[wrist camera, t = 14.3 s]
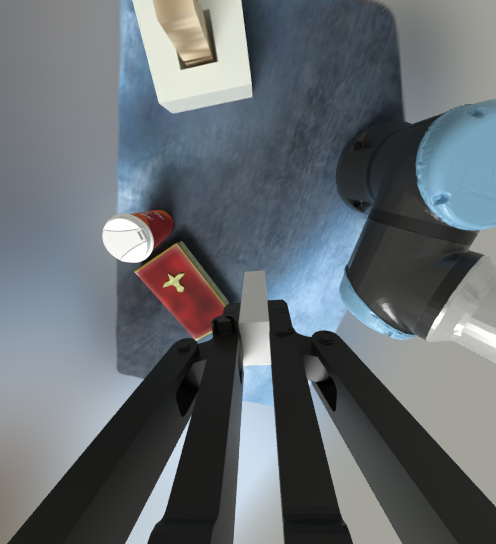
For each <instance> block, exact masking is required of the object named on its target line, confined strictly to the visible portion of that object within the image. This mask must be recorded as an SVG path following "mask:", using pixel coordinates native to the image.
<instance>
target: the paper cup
mask: <svg viewBox="0 0 496 544" xmlns="http://www.w3.org/2000/svg"><path fill="white" fill-rule="evenodd" d="M173 228H174V223H173V220H172V218H171V216H170V215H169V214H168V213H167V212H165V211H162V210H152V211H146V212H140V213H135V214H118V215H115V216H113V217H111V218H110V219H109V220H108V221H107V223H106V225H105V227H104V230H103V242H104V245H105V247H106V248H107V250H108V251H109V252H110V253H111V254H112V255H113V256H114V257H116V258H117V259H119V260H121V261H125V262H140V261H143V260H145V259H146V258H147V257H148V256H149V255H150V254H151V252H152V250H153V249H154V248H156V247H157V246H158V245H159V244H160V243H161V242H162V241H163V240H164V239H166V238H167V237H168V236H169V235H170V234H171V232H172V231H173Z"/></svg>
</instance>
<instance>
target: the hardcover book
mask: <svg viewBox="0 0 496 544" xmlns="http://www.w3.org/2000/svg"><path fill="white" fill-rule="evenodd" d="M134 272H135V273H136V274H137V275H138V276H139V277H140V278H141V280H142V281H143V282H144V283H145V284H146V285H147V286H148V287H149V288H150V290H151V291H152V292H153V293H154V294H155V295H156V296H157V297H158V299H159V300H160V301H161V302H162V303H163V304H164V305H165V306H166V308H167V309H168V310H169V311H170V312H171V313H172V314H173V315H174V316H175V318H176V319H177V320H178V321H179V322H180V323H181V324H182V325H183V327H184V328H185V329H186V330H187V331H188V332H189V333H190V334H191V336H192V337H193V338H194V339H195V340H196V341H197V340H199V339H201V338H202V337H204V336H206V335H208V334H210V333H212V327H211V321H212V320H213V319H214V318H215V317H217V316H220V315H222V314H223V310H224V307H225V306H226V305H227V304H229V301H228V300H227V299H226V297H225V296H224V295H223V293H222V292H221V291H220V290H219V288H218V287H217V286H216V284H215V283H214V282H213V281H212V279H211V278H210V277H209V275H208V274H207V273H206V271H205V270H204V269H203V268H202V266H201V265H200V264H199V262H198V261H197V260H196V258H195V257H194V256H193V255H192V253H191V252H190V251H189V249H188V248H187V247H186V245H185V244H184V243H183V242H182V241H181V242H179V243H178V242H177V243H175V244H174V245H172V246H171V247H169V248H168V249H166V250H165V251H164V252H162V253H161V254H159V255H158V256H156V257H155V258H153V259H152V260H150V261H149V262H147V263H146V264H145V265H142V266H141V267H139V268H138V269H137V270H136V271H134Z"/></svg>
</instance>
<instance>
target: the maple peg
mask: <svg viewBox="0 0 496 544" xmlns="http://www.w3.org/2000/svg"><path fill="white" fill-rule="evenodd" d="M153 4H154V8H155V12H156V17H157V20H158V22H159V23H160V25H161V26H162V28H163V30H164V31H165V33H166V34H167V36H168V37H169V39H170V41H171V42H172V44H173V45H174V47H175V49H176V50H177V52H178V53H179V55H180V56H181V58H182V60H183V62H184V63H185V64H186V66H187V68H192V67H197V66H201V65H206V64H210V63H214V62H216V61H215V55H214V49H213V43H212V37H211V34H210V31H209V28H208V25H207V22H206V18H205V16H204V12H203V9H202V6H201V3H200V0H153Z"/></svg>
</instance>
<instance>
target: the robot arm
mask: <svg viewBox="0 0 496 544" xmlns="http://www.w3.org/2000/svg"><path fill="white" fill-rule="evenodd" d="M336 184H337V189H338V192H339V194H340V196H341V198H342V200H343V201H344V202H345V203H346V204H347V205H348V206H349V207H350V208H352V209H353V210H355V211H358V212H361V213H364V214H368V215H369V216H368V218H367V220H366V223H365V225H364V227H363V230H362V232H361V234H360V237H359V239H358V241H357V244H356V246H355V248H354V251H353V253H352V255H351V258H350V260H349V262H348V264H347V265H346V266H345V269H344V276H343V279H342V281H341V284H340V289H339V292H340V295H341V299H342V301H343V303H344V305H345V306H346V307H347V309H348V310H349V311H350V312H351V313H352V314H353V315H354V316H356V318H358V319H359V320H360V321H361V322H363V323H364V324H366V325H367V326H368V327H370V328H372V329H373V330H375V331H377V332H379V333H381V334H384V333H386V334H387V335H388V336H390V337H391V338H395V339H400V340H407V339H411V338H412V337H415V336H417V335H418V336H419V337H421V338H423V339H425V340H426V341H428V342H437V341H447V340H448V341H455V342H457V343H459V344H460V345H462V346H464V347H466V348H468V349H470V350H472V351H474V352H475V353H477V354H479V355H481V356H483V357H485V358H487V359H489V360H490V361H492V362H494V363H496V268H495V266H494V265H493V263H492V261H491V259H490V257H488V256H486V255H482V254H479V253H476V252H473V251H470V250H469V247H470V246H471V244H472V242H473V241H474V239H475V238H476V236H477V234H478V233H479V231H480V230H483V229H487V228H492V227H496V99H493V100H488V101H483V102H479V103H475V104H465V105H464V106H458V107H455V108H453V109H451V110H449V111H447V112H445V113H443V114H440V115H437V116H434V117H431V118H428V119H426V120H423V121H420V122H417V123H414V124H410V123H407V122H403V121H386V122H382V123H379V124H376V125H374V126H371V127H369V128H367V129H365V130H364V131H362V132H361V133H359V134H358V135H357V136H356V137H355V138H353V139H352V141H351V142H350V143H349V144H348V145H347V147H346V148H345V150H344V151H343V153H342V155H341V157H340V160H339V163H338V166H337V171H336ZM211 327H212V332H213V338H212V339H211V340H209V341H206V342H203V343H200V344H198V343H197V341H196V340H195V339H192V338H185V339H182V340H179V341H177V342H176V343H175V344H173V345H172V346H171V348H170V349H169V350H168V351H167V353H166V354H165V355H164V356H163V357H162V359H161V360H160V361H159V362H158V363H157V365H156V366H155V367H154V368H153V369H152V371H151V372H150V373H149V374H148V375H147V377H146V378H145V379H144V380H143V381H142V383H141V384H140V385H139V386H138V387H137V389H136V390H135V391H134V392H133V393H132V395H131V396H130V397H129V398H128V399H127V401H126V402H125V403H124V404H123V405H122V407H121V408H120V409H119V410H118V411H117V413H116V414H115V415H114V416H113V417H112V419H111V420H110V421H109V422H108V423H107V425H106V426H105V427H104V428H103V429H102V431H101V432H100V433H99V434H98V435H97V437H96V438H95V439H94V440H93V442H92V443H91V444H90V445H89V446H88V447H87V449H86V450H85V451H84V452H83V453H82V455H81V456H80V457H79V458H78V459H77V461H76V462H75V463H74V464H73V466H72V467H71V468H70V469H69V470H68V471H67V473H66V474H65V475H64V476H63V478H62V479H61V480H60V481H59V482H58V483H57V485H56V486H55V487H54V489H52V491H51V492H50V493H49V494H48V496H47V497H46V498H45V499H44V500H43V501H42V503H41V504H40V505H39V506H38V507H37V509H36V510H35V511H34V512H33V514H32V515H31V516H30V517H29V518H28V519H27V521H26V522H25V523H24V524H23V525H22V527H21V528H20V529H19V530H18V531H17V533H16V534H15V535H14V536H13V537H12V539H11V540H10V541H9V542H8V543H7V544H125V542H126V541H127V539H128V537H129V535H130V533H131V531H132V529H133V527H134V525H135V523H136V521H137V520H138V518H139V516H140V514H141V512H142V510H143V508H144V506H145V504H146V502H147V500H148V498H149V496H150V494H151V492H152V491H153V489H154V487H155V484H156V483H157V481H158V479H159V477H160V475H161V473H162V471H163V469H164V467H165V465H166V463H167V462H168V460H169V458H170V456H171V454H172V452H173V450H174V448H175V446H176V444H177V442H178V440H179V438H180V436H181V434H182V432H183V430H184V429H185V427H186V425H187V423H188V421H189V419H190V417H191V420H190V423H189V427H188V431H187V435H186V438H185V442H184V445H183V449H182V453H181V457H180V460H179V464H178V468H177V472H176V475H175V479H174V482H173V486H172V490H171V494H170V497H169V501H168V505H167V508H166V511H165V514H164V516H163V518H162V519H161V521H159V522H158V523H157V524H156V525H155V527H154V529H153V531H152V532H151V535H150V537H149V540H148V543H147V544H233V538H234V522H235V505H236V490H237V473H238V458H239V442H240V425H241V411H242V395H243V379H244V371H243V362H244V366H248V365H271V369H272V383H273V397H274V411H275V423H276V438H277V452H278V465H279V480H280V493H281V507H282V521H283V533H284V544H353V542H352V539H351V535H350V533H349V530H348V528H347V525H346V523H345V522H344V521H343V519H342V517H341V514H340V510H339V506H338V502H337V498H336V494H335V490H334V486H333V482H332V478H331V474H330V470H329V466H328V462H327V457H326V454H325V449H324V445H323V442H322V438H321V433H320V429H319V425H318V421H317V417H316V413H315V409H314V405H313V401H312V397H311V393H310V388H309V384H308V380H311V382H312V385H313V386H314V388H315V390H316V392H317V393H318V395H319V397H320V399H321V401H322V402H323V404H324V406H325V408H326V409H327V411H328V413H329V415H330V417H331V418H332V420H333V422H334V424H335V425H336V427H337V429H338V430H339V432H340V434H341V436H342V438H343V439H344V441H345V443H346V445H347V447H348V448H349V450H350V452H351V454H352V455H353V457H354V459H355V461H356V462H357V464H358V466H359V468H360V470H361V471H362V473H363V475H364V477H365V478H366V480H367V482H368V484H369V485H370V487H371V489H372V491H373V493H374V494H375V496H376V498H377V500H378V501H379V503H380V505H381V507H382V508H383V510H384V512H385V514H386V516H387V517H388V519H389V521H390V523H391V524H392V526H393V528H394V530H395V531H396V533H397V535H398V537H399V538H400V540H401V542H402V544H496V507H495V506H494V504H493V503H492V502H491V501H490V500H489V499H488V498H487V497H486V496H485V495H484V494H483V492H482V491H481V490H480V489H479V488H478V487H477V486H476V485H475V484H474V483H473V482H472V481H471V479H470V478H469V477H468V476H467V475H466V474H465V473H464V472H463V471H462V470H461V469H460V467H459V466H458V465H457V464H456V463H455V462H454V461H453V460H452V459H451V458H450V457H449V455H448V454H447V453H446V452H445V451H444V450H443V449H442V448H441V447H440V446H439V445H438V443H437V442H436V441H435V440H434V439H433V438H432V437H431V436H430V435H429V434H428V433H427V431H426V430H425V429H424V428H423V427H422V426H421V425H420V424H419V423H418V422H417V421H416V419H415V418H414V417H413V416H412V415H411V414H410V413H409V412H408V411H407V410H406V409H405V408H404V407H403V405H402V404H401V403H400V402H399V401H398V400H397V399H396V398H395V397H394V396H393V394H391V393H390V391H389V390H388V389H387V388H386V387H385V386H384V385H383V384H382V383H381V381H380V380H379V379H378V378H377V377H376V376H375V375H374V374H373V373H372V372H371V370H370V369H369V368H368V367H367V366H366V365H365V364H364V363H363V362H362V361H361V360H360V359H359V358H358V356H357V355H356V354H355V353H354V352H353V351H352V350H351V349H350V348H349V347H348V345H347V344H346V343H345V342H344V341H343V340H342V339H341V338H340V337H339V336H338V335H337V334H335V333H333V332H331V331H325V330H324V331H318V332H315V333H314V334H313V335H312V337H307V336H303V335H300V334H298V333H297V332H296V331H295V330H294V328H293V327H292V323H291V318H290V314H289V310H288V306H287V303H286V302H285V301H284V300H268V301H267V291H266V279H265V271H251V272H245V276H244V284H243V292H242V300H241V303H229V304H227V305H226V306H225V307H224V310H223V314H222V315H220V316H217V317H215V318H214V319H213V320H212V321H211ZM191 415H192V416H191Z"/></svg>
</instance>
